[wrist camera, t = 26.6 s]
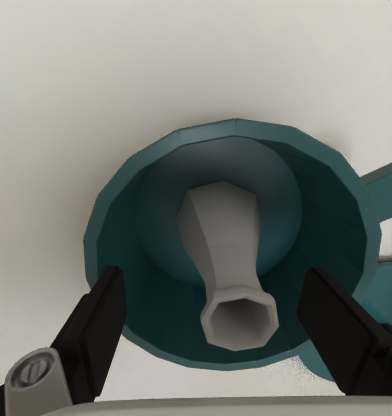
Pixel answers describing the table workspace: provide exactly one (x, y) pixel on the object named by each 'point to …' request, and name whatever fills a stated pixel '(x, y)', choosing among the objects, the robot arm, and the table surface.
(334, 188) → the pot
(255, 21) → the table surface
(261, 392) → the table surface
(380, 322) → the pot lid
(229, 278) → the flask
